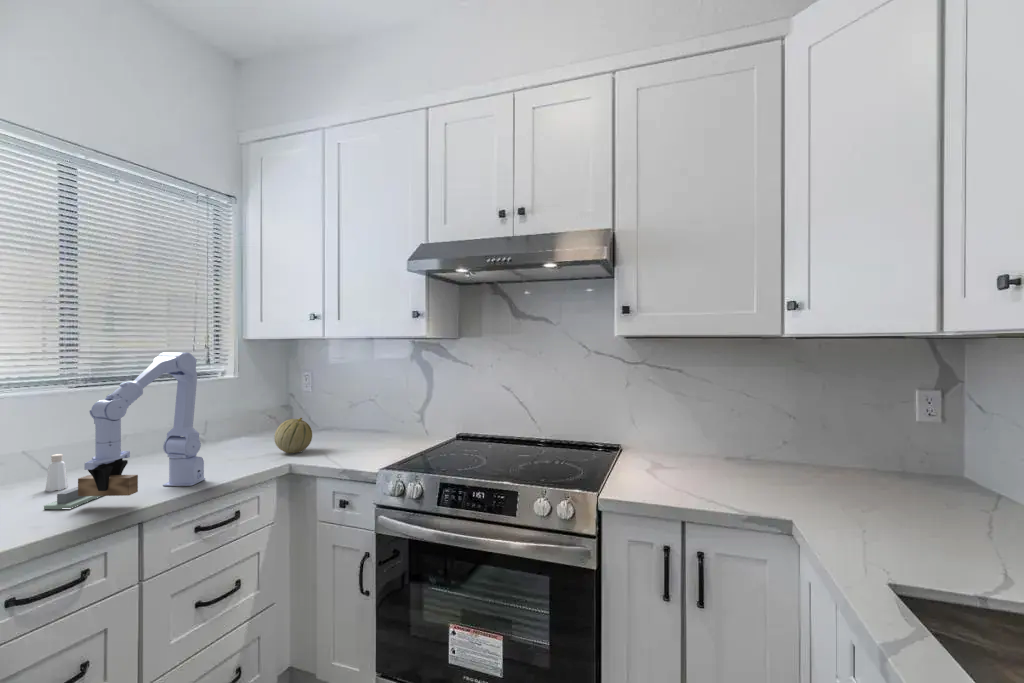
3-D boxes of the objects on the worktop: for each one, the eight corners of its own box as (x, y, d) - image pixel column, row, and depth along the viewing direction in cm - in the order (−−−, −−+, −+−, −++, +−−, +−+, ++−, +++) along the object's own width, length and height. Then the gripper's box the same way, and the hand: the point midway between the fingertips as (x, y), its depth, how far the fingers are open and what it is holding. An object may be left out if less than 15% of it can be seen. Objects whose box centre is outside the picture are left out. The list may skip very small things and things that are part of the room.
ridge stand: (121, 488, 159) (122, 476, 159) (69, 509, 139) (69, 495, 139) (99, 488, 159) (99, 476, 159) (43, 509, 139) (43, 495, 139)
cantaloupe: (270, 452, 211) (270, 417, 211) (305, 447, 221) (305, 414, 221) (281, 458, 200) (281, 421, 200) (317, 453, 210) (317, 418, 210)
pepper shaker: (46, 492, 155) (46, 457, 155) (44, 489, 158) (44, 454, 158) (69, 488, 159) (69, 454, 159) (66, 485, 162) (67, 452, 162)
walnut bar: (137, 491, 144) (137, 474, 144) (129, 495, 141) (129, 478, 141) (87, 492, 144) (87, 475, 144) (78, 496, 140) (77, 478, 140)
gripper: (112, 436, 149) (112, 481, 149) (72, 446, 135) (72, 496, 135) (137, 436, 150) (137, 481, 150) (99, 446, 135) (99, 496, 135)
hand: (108, 488), depth 142 cm, fingers closed on walnut bar, 3 cm apart
